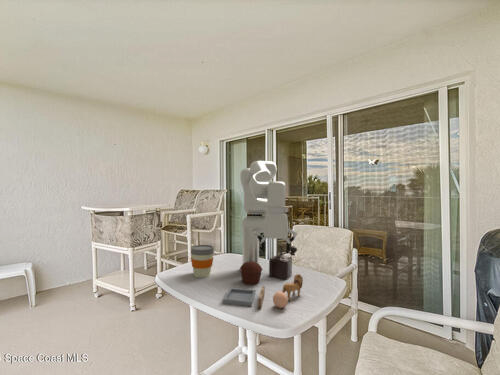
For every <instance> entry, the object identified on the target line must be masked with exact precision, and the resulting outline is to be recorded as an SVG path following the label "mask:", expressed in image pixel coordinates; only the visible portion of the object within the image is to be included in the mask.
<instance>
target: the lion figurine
mask: <svg viewBox="0 0 500 375" xmlns="http://www.w3.org/2000/svg"><path fill="white" fill-rule="evenodd" d="M303 280H304V278H303V276H302V275H301V273H296V274H295V275H294V277H293V281H292V282H291V283H290V282H289V283H285V284H283V287H282V291H281V292H283V293H285V294H286V293H287V294H286V295H287V298H288V301H290V300H292V301H293V299H292V298H291V297H290V296H291V292H292V296H295V295H296V291H297V297H298V296H301V289H302V288H303Z"/></svg>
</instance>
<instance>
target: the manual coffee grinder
mask: <svg viewBox="0 0 500 375" xmlns="http://www.w3.org/2000/svg"><path fill="white" fill-rule="evenodd" d="M279 247H280V248H279V250H280V254H278V255H277V254H276V255H274V256H272V257H271V258H269V261H268V262H269V264H268V277H270V278H276V279H281V280H288V279H289V278H290V277H292V275H291V274H293V257H294V256H296V252H297V251H298V248H297V247H296V246H294V245H293V246H290V251H288V254H289V255H291V256H293V257H289V256H286V255H283V252H285V253H286V249H284V248H283V245H280V246H279ZM288 277H289V278H288ZM287 278H288V279H287Z"/></svg>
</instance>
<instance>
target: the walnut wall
mask: <svg viewBox="0 0 500 375" xmlns="http://www.w3.org/2000/svg"><path fill="white" fill-rule="evenodd" d="M265 288H266V286H263V285H262V286H261V289H260V291H259V296H258V300H257V302H258V303H257V306H258V307H257V309H258V310H262V308H263V302H264V298H265V291H266V290H265Z"/></svg>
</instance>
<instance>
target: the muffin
mask: <svg viewBox="0 0 500 375" xmlns="http://www.w3.org/2000/svg"><path fill="white" fill-rule="evenodd" d="M240 267H241V268H240ZM240 267H239V271H240V270H241V271H240V272H241V274H240V275H241V280H242V283H243V284H244V285H249V286H253V285H258V284H259V283H260V280H261V274H262V271H263V268H262V266H261V265H260V263H259V264H258V263H256V262H253V261H248V262H245V263H244V264H243V263H242V264H241V265H240Z"/></svg>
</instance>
